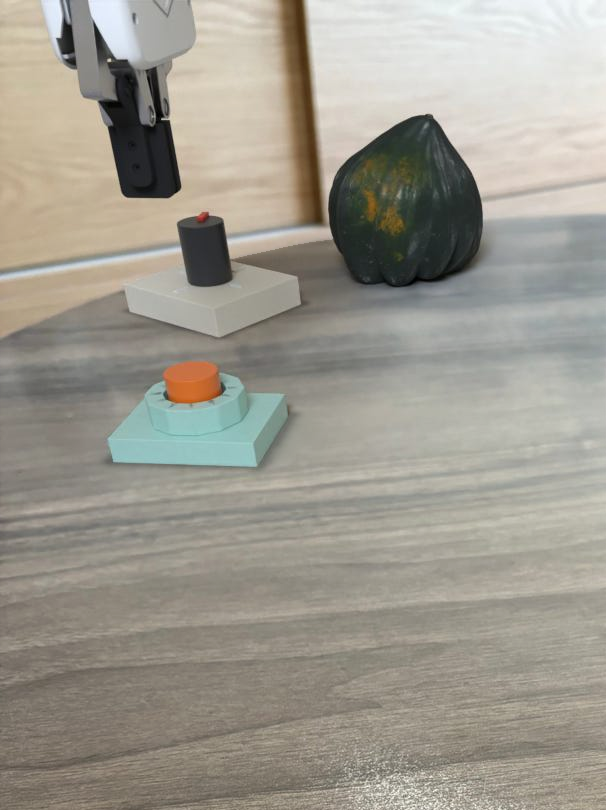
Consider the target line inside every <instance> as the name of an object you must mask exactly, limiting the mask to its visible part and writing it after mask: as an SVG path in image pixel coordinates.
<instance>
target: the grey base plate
mask: <svg viewBox="0 0 606 810" xmlns="http://www.w3.org/2000/svg"><path fill="white" fill-rule="evenodd" d="M230 262H231V268H232V274H233V278H232V280H230V281H229V282H227V283H224V284H220V285H215V286H195V285H191V284H189V283H188V281H187V275H186V270H185V265H184V263H182V264H178V265H175V266H172V267H170V268H166V269H164V270H160V271H157V272H154V273H151V274H148V275H144V276H142V277H139V278H137V279H134V280H130V281H128V282H125V283H123V289H124V294H125V298H126V303H127V306H128V311H129V313H133V314H136V315H140V316H143V317H146V318H150V319H154V320H157V321H160V322H164V323H166V324H167V323H168V324H170V325H174V326H178V327H181V328H185V329H188V330H191V331H194V332H198V333H202V334H204V335H209V336H212V337H215V338H221V337H224V336H226V335H230V334H231V333H234V332H236V331H238V330H239V331H240V330H241V329H244V328H246V327H249V326H251V325H254V324H256V323H258V322H261V321H263V320H266V319H268V318H271V317H273V316H276V315H278V314H281V313H284V312H286V311H289V310H291V309H293V308H297V307H298V306H300V305H302V301H301V293H300V284H299V277H298V276H296V275H293V274H288V273H285V272H280V271H275V270H271V269H267V268H264V267H263V268H262V267H258V266H254V265H250V264H245V263H241V262H237V261H232V260H230Z"/></svg>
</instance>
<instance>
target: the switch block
mask: <svg viewBox="0 0 606 810" xmlns="http://www.w3.org/2000/svg"><path fill="white" fill-rule="evenodd" d="M219 377H220V382H221V388H222V395H221V396H218V397H216V398H214V399H212V400H209V401H204V402H199V403H193V404H182V403H174V402H171V401H169V399H168V394H167V390H166V385H165V381H164V380H162V381H160V382H157V383H154V384H153V385H152V386H150V388H149V389H148V390H147V391H146V392H145V393H144V396H143V397H144V398H143V399H142V400H141V401H140V402H139V403H138V404H137V406H136V407H135V408H134V409H133V410H132V411H131V412H130V413H129V414H128V415H127V417H125V419H124V420H123V421H122V422H121V423H120V424H119V425H118V427H117V428H116V429H115V430H114V431H113V432H112V433H111V434H110V435H109V436H108V438H107V442H108V446H109V450H110V454H111V457H112V461H113V463H128V464H129V463H131V464H157V465H159V464H161V465H189V466H190V465H191V466H192V465H193V466H224V467H253V468H254V467H255V468H256V467H258V466H259V464H260V463H261V462H262V459H263V458H264V456H266V455H265V454H266V453H267V452H268V450H269V449H270V447H271V445H272V444H273V442H274V440H275V438H276V436H277V435H278V434H279V432H280V430H281V429H282V427H283V425H284V424H285V422H286V420H287V419H288V417H289V412H288V406H287V405H288V404H287V399H286V393H272V392H271V393H270V392H246V389H245V386H244V384H243V382H242V381H241V379H240V378H239V377H238V376H237V377H236V376H234V375H231V374H227V373H224V372H219Z"/></svg>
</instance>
